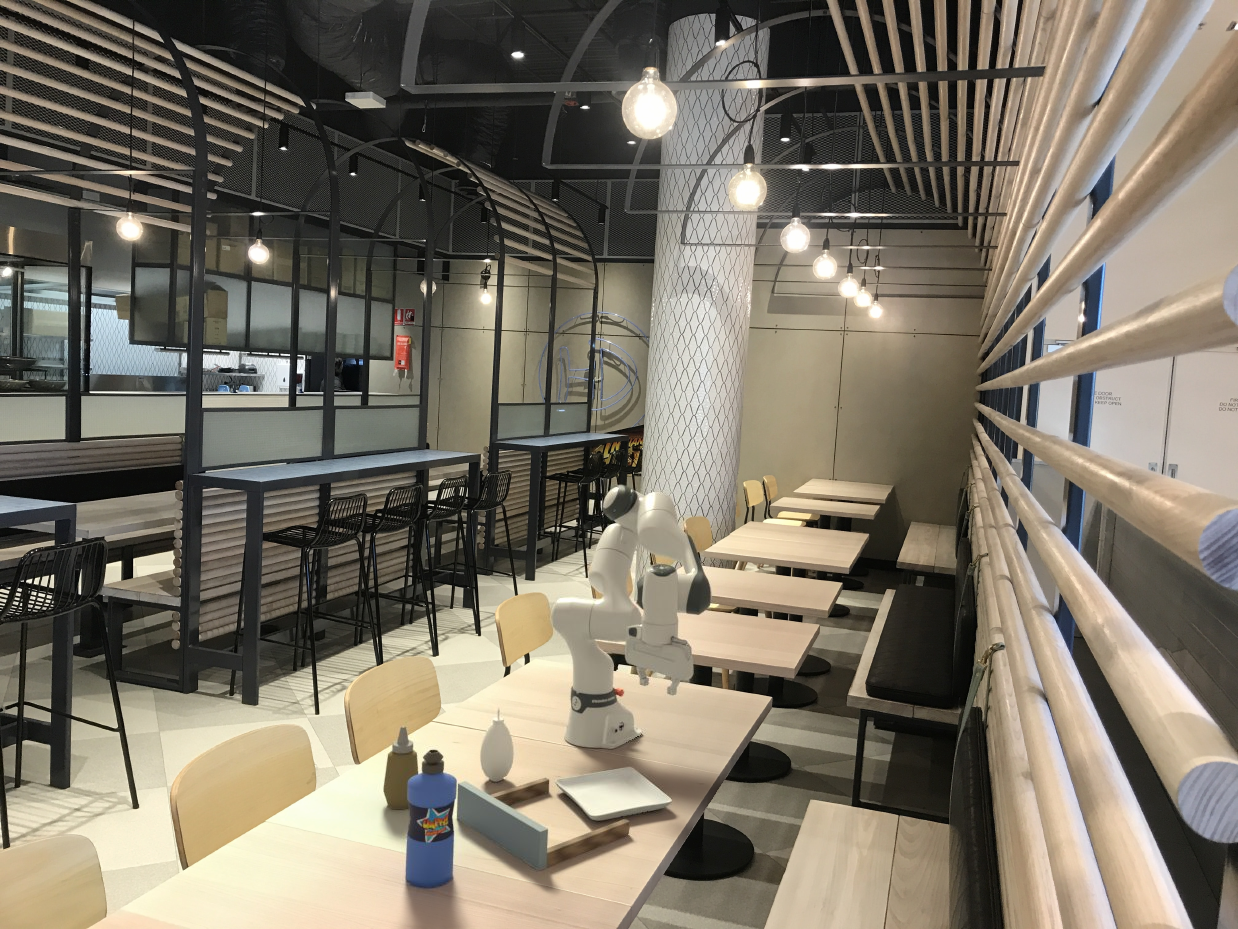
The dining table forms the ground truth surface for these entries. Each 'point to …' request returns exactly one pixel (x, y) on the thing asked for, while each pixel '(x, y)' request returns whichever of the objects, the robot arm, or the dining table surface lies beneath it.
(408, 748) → the squeeze bottle
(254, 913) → the dining table surface
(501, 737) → the white dust blower
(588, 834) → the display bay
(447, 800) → the water bottle
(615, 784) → the salad plate
